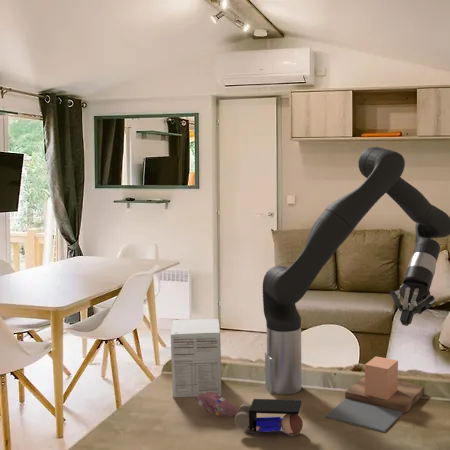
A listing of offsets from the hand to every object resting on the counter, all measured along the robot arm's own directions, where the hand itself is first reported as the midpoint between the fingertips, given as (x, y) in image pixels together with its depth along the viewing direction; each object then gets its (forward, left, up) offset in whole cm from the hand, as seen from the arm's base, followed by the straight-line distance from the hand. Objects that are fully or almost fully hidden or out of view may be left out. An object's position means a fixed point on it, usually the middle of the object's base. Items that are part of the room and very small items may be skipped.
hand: (404, 324), depth 176 cm
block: (-12, -12, -14) cm, 21 cm away
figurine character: (-44, -23, -16) cm, 52 cm away
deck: (-10, -10, -16) cm, 21 cm away
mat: (-19, -19, -16) cm, 31 cm away
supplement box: (-57, +7, -16) cm, 60 cm away
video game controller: (-54, -10, -16) cm, 58 cm away
